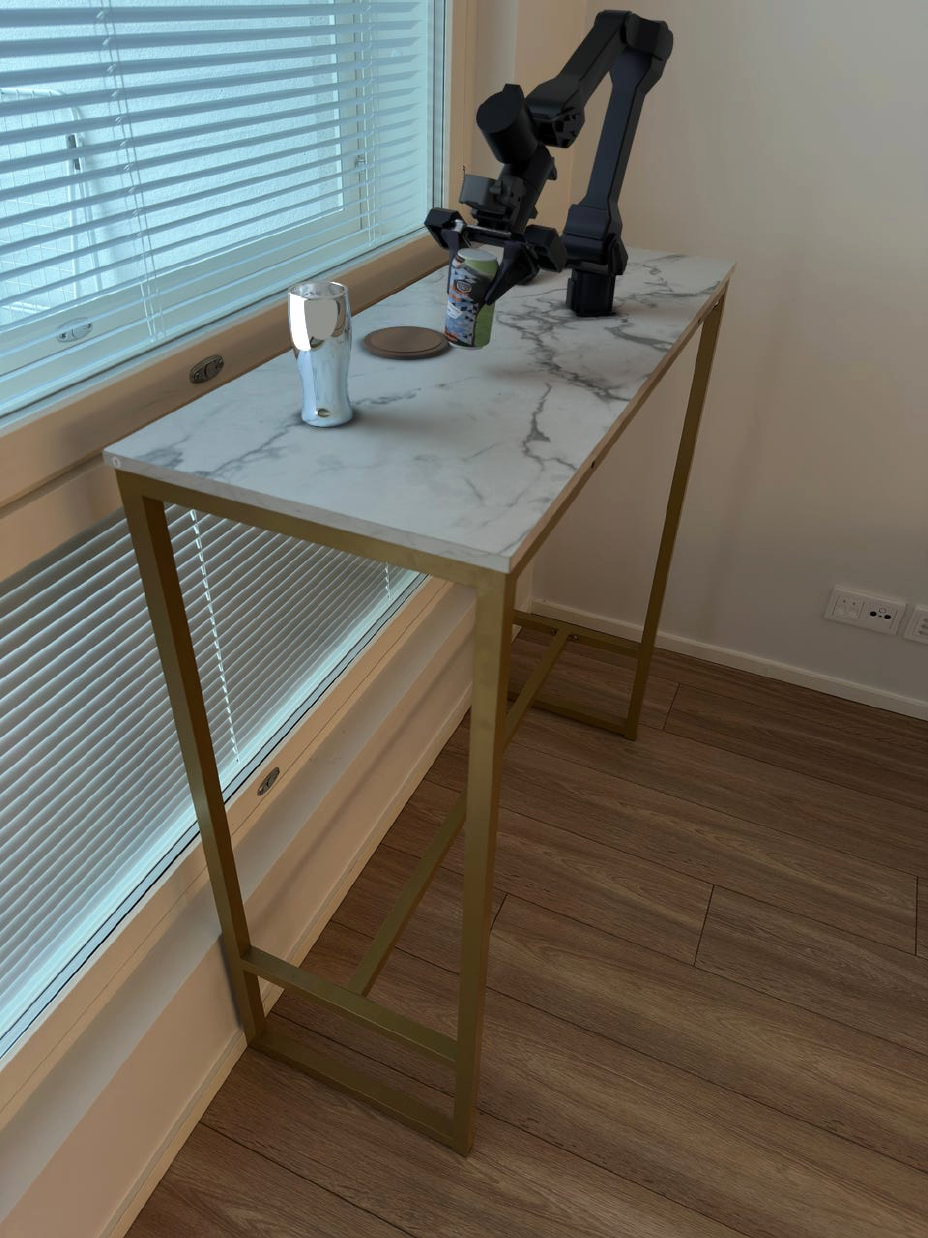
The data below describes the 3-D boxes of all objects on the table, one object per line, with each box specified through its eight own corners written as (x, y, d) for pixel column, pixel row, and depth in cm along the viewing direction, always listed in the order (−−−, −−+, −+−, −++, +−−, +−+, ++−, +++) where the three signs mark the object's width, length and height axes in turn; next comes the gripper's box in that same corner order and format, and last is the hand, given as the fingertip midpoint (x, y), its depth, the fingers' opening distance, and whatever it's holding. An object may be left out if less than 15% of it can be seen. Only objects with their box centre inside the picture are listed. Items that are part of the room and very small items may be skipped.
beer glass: (365, 409, 110) (359, 283, 102) (341, 432, 105) (332, 301, 96) (314, 401, 112) (303, 276, 103) (287, 423, 107) (274, 294, 98)
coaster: (439, 328, 135) (440, 323, 134) (455, 357, 125) (455, 352, 125) (359, 331, 133) (359, 327, 132) (368, 361, 123) (368, 356, 123)
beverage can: (443, 340, 121) (439, 245, 114) (497, 336, 122) (496, 242, 115) (446, 356, 116) (442, 258, 109) (503, 353, 117) (502, 255, 110)
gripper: (431, 136, 112) (379, 249, 111) (563, 154, 103) (508, 277, 103) (466, 193, 121) (419, 298, 121) (589, 214, 113) (539, 326, 113)
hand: (467, 299), depth 114 cm, fingers closed on beverage can, 5 cm apart
